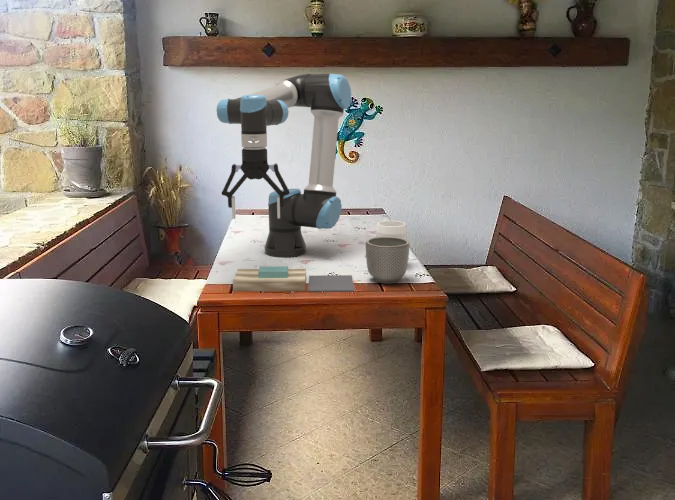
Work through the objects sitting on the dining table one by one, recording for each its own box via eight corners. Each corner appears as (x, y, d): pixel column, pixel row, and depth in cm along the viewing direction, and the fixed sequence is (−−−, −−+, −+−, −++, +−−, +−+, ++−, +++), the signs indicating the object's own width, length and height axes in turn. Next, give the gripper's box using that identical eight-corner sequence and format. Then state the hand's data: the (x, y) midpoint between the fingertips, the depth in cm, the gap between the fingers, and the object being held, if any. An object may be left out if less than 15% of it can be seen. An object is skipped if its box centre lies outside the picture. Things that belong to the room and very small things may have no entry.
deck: (237, 278, 232) (237, 269, 231) (305, 277, 233) (305, 268, 232) (233, 291, 218) (232, 281, 218) (305, 290, 219) (305, 281, 218)
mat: (308, 276, 234) (308, 275, 233) (351, 276, 234) (351, 275, 234) (308, 291, 218) (308, 290, 218) (354, 291, 218) (354, 290, 218)
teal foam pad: (258, 278, 222) (258, 271, 221) (259, 272, 228) (259, 266, 227) (287, 277, 222) (287, 271, 221) (288, 272, 228) (288, 266, 227)
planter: (373, 272, 238) (374, 234, 235) (413, 277, 233) (415, 238, 230) (358, 284, 226) (359, 244, 223) (400, 289, 221) (401, 248, 217)
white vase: (404, 271, 240) (406, 227, 236) (373, 269, 242) (374, 226, 238) (407, 262, 250) (408, 220, 246) (377, 261, 252) (378, 219, 248)
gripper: (210, 149, 208) (213, 220, 214) (296, 149, 210) (297, 219, 215) (213, 146, 215) (216, 215, 221) (296, 146, 217) (297, 214, 223)
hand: (256, 217), depth 218 cm, fingers open, 13 cm apart
